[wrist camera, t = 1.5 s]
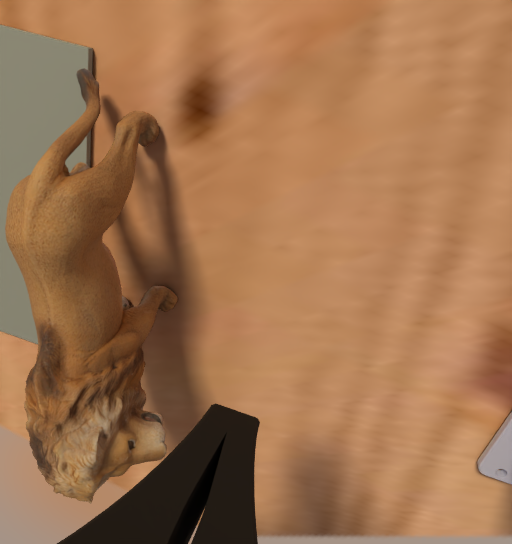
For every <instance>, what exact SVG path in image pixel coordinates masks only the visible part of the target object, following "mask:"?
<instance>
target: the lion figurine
mask: <svg viewBox="0 0 512 544" xmlns="http://www.w3.org/2000/svg"><path fill="white" fill-rule="evenodd" d="M76 75H77V79H78V82H79V85H80V88H81V95H82V98H83V99H84V101H85V103H86V110H85V112H84V113H83V115H82V116H81V117H80V118H79V119H78V120H77V121H76V122H75V123H74V124H73V125H71V126H70V127H69V128H68V129H67V130H66V131H65V132H64V133H63V134H62V135H61V136H59V137H58V138H57V139H56V140H55V141H54V142H53V143H52V145H51V146H50V147H49V149H48V150H47V151H46V153H45V154H44V155H43V156H42V157H41V159H40V160H39V161H38V163H37V164H36V166H35V167H34V169H33V171H32V173H31V175H28V176H27V177H25V178H24V179H22V180H21V181H20V182H19V183H18V184H17V185H16V186H15V188H14V189H13V191H12V193H11V196H10V199H9V203H8V207H7V217H6V225H5V233H6V240H7V243H8V246H9V248H10V250H11V252H12V254H13V256H14V258H15V260H16V262H17V264H18V266H19V268H20V270H21V273H22V275H23V278H24V281H25V284H26V287H27V291H28V294H29V299H30V304H31V309H32V315H33V318H34V322H35V326H36V331H37V337H38V355H37V361H36V364H35V366H34V367H33V368H32V369H31V371H30V373H29V375H28V378H27V381H26V384H27V385H26V389H25V392H26V401H25V403H24V408H25V410H26V413H27V417H28V421H27V422H26V429H27V430H28V432H29V436H30V446H31V448H32V450H33V451H32V453H33V456H34V457H35V459H36V460H37V464H38V469H39V470H40V471H41V473H42V475H43V476H44V477H45V480H46V482H47V483H48V484H50V485H52V486H54V492H55V493H61V494H63V495H64V496H66V497H71V498H76V499H77V500H79V501H88V502H89V503H92V500H93V496H94V493H95V492H96V490H97V489H98V488H99V487H100V486H101V485H102V484H104V483H105V482H106V480H108V479H109V477H115V476H121V475H123V474H124V473H125V472H126V471H127V470H128V469H129V467H130V466H132V465H134V464H139V463H144V462H148V461H157V460H160V459H162V458H163V457H164V456H165V454H166V450H167V447H166V445H165V443H164V442H165V430H164V428H163V417H162V416H161V415H160V414H159V413H155V412H147V411H143V406H144V404H145V401H146V393H145V391H144V390H143V389H142V388H141V383H140V380H141V377H142V375H143V371H144V367H145V362H144V359H143V351H142V348H141V346H142V344H143V342H144V341H145V339H146V338H147V336H148V334H149V332H150V330H151V328H152V326H153V324H154V321H155V317H156V313H157V310H158V309H161V310H162V311H164V312H167V311H168V310H169V309H172V308H174V306H175V303H176V302H177V300H178V298H177V296H176V295H175V294H174V293H173V292H172V291H171V290H170V289H168V288H167V287H164V286H153V287H151V288H150V289H149V290H148V291H147V292H146V294H145V295H144V297H143V299H142V301H141V303H140V304H139V305H138V306H137V307H131V308H129V303H128V300H127V299H126V298H125V297H124V296H122V291H121V284H120V279H119V275H118V271H117V267H116V264H115V260H114V258H113V256H112V254H111V252H110V250H109V249H108V247H107V246H106V245H105V244H104V243H103V242H102V236H103V233H104V232H105V231H106V230H107V229H108V228H109V227H110V226H111V225H112V224H113V222H114V221H115V220H116V218H117V217H118V216H119V214H120V212H121V210H122V208H123V206H124V204H125V201H126V199H127V197H128V194H129V192H130V190H131V187H132V183H133V178H134V173H135V163H136V154H137V147H138V143H139V144H141V145H142V146H144V147H146V146H148V145H149V144H150V143H153V142H154V141H155V140H156V138H157V136H158V135H159V126H158V123H157V121H156V119H155V118H154V117H153V116H152V115H150V114H149V113H146V112H140V111H134V112H130V113H128V114H127V115H126V116H125V117H124V118H123V119H122V120H121V121H120V122H119V123H118V124H117V126H116V135H115V139H114V142H113V144H112V147H111V149H110V150H109V152H108V154H107V155H106V157H105V158H104V159H103V160H102V162H101V163H99V164H98V165H96V166H95V167H92V168H89V166H88V165H87V164H85V163H83V162H79V163H77V164H76V165H75V166H74V167H73V169H72V170H71V172H70V173H69V170H68V168H67V166H66V165H65V161H66V159H67V158H68V157H69V156H70V155H71V154H72V153H73V152H74V150H75V149H76V148H77V147H78V146H79V145H80V144H81V143H82V142H83V140H84V139H85V137H86V136H87V135H88V133H89V132H90V130H91V129H92V127H93V125H94V124H95V122H96V120H97V118H98V116H99V114H100V98H99V83H98V82H97V81H96V80H95V79H94V77H93V75H92V73H91V72H90V71H89V70H87V69H85V68H83V69H79V70H78V71H77V73H76Z"/></svg>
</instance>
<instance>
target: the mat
mask: <svg viewBox="0 0 512 544" xmlns="http://www.w3.org/2000/svg"><path fill="white" fill-rule="evenodd" d="M92 62H93V48H89V47H86V46H82V45H78V44H74V43H70V42H66V41H62V40H58V39H54V38H51V37H47V36H43V35H39V34H35V33H31V32H27V31H23V30H19V29H16V28H12V27H8V26H4V25H0V331H2V332H5V333H8V334H10V335H13V336H16V337H19V338H22V339H25V340H27V341H30V342H33V343H36V344H38V337H37V331H36V326H35V322H34V318H33V315H32V309H31V304H30V299H29V294H28V291H27V287H26V284H25V281H24V278H23V275H22V273H21V270H20V268H19V266H18V264H17V262H16V260H15V258H14V256H13V254H12V252H11V250H10V248H9V246H8V243H7V240H6V233H5V225H6V217H7V207H8V203H9V199H10V196H11V193H12V191H13V189H14V188H15V186H16V185H17V184H18V183H19V182H20V181H21V180H22V179H24V178H25V177H27V176H28V175H31V173H32V171H33V169H34V167H35V166H36V164H37V163H38V161H39V160H40V159H41V157H42V156H43V155H44V154H45V153H46V151H47V150H48V149H49V147H50V146H51V145H52V143H53V142H54V141H55V140H56V139H57V138H58V137H59V136H61V135H62V134H63V133H64V132H65V131H66V130H67V129H68V128H69V127H70V126H71V125H73V124H74V123H75V122H76V121H77V120H78V119H79V118H80V117H81V116H82V115H83V113H84V112H85V110H86V103H85V101H84V99H83V98H82V95H81V88H80V85H79V82H78V79H77V75H76V73H77V71H78V70H79V69H83V68H85V69H87V70H89V71H90V72H91V73H92ZM90 151H91V130H90V132H89V133H88V135H87V136H86V137H85V139H84V140H83V142H82V143H81V144H80V145H79V146H78V147H77V148H76V149H75V150H74V152H73V153H72V154H71V155H70V156H69V157H68V158H67V159H66V161H65V165H66V166H67V168H68V170H69V173H70V172H71V170H72V169H73V167H74V166H75V165H76V164H77V163H79V162H83V163H85V164H87V165H88V166H89V168H90Z"/></svg>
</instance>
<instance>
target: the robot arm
mask: <svg viewBox="0 0 512 544" xmlns="http://www.w3.org/2000/svg"><path fill="white" fill-rule="evenodd" d="M259 424H260V422H259V420H258V419H257V418H256V417H253V416H250V415H247V414H244V413H241V412H238V411H236V410H233V409H230V408H227V407H224V406H221V405H218V404H213V405H211V407H210V408H209V410H208V411H207V412H206V414H205V415H204V416H203V418H202V419H201V420H200V421H199V423H198V424H197V425H196V426H195V427H194V429H193V430H192V431H191V432H190V433H189V434H188V435H187V436H186V438H185V439H184V440H183V441H182V442H181V443H180V444H179V445H178V446H177V447H176V448H175V449H174V450H173V451H172V452H171V453H170V454H169V455H168V456H167V457H166V458H165V459H164V460H163V461H162V462H161V463H160V464H159V465H158V466H157V467H156V468H154V469H153V470H152V471H151V472H150V473H149V474H148V475H147V476H146V477H145V478H144V479H143V480H141V481H140V482H139V483H138V484H137V485H136V486H134V487H133V488H132V489H131V490H130V491H129V492H127V493H126V494H125V495H124V496H122V497H121V498H120V499H119V500H118V501H116V502H115V503H114V504H112V505H111V506H110V507H109V508H107V509H106V510H105V511H103V512H102V513H101V514H99V515H98V516H96V517H95V518H94V519H92V520H91V521H90V522H88V523H87V524H86V525H84V526H83V527H82V528H80V529H78V530H77V531H76V532H74V533H73V534H71V535H70V536H68V537H67V538H65V539H64V540H62V541H60V542H59V543H57V544H188V542H189V540H190V538H191V536H192V534H193V532H194V530H195V528H196V525H197V523H198V521H199V519H200V517H201V515H202V513H203V510H204V508H205V510H204V513H203V516H202V518H201V521H200V523H199V526H198V528H197V531H196V533H195V536H194V538H193V541H192V543H191V544H258V542H257V531H256V518H255V500H254V461H255V447H256V438H257V432H258V427H259ZM477 464H478V468H479V471H480V472H481V473H482V474H484V475H486V476H489V477H492V478H495V479H497V480H500V481H503V482H506V483H509V484H512V412H511V413H510V414H509V416H508V417H507V419H506V420H505V422H504V423H503V425H502V426H501V427H500V429H499V430H498V432H497V433H496V435H495V436H494V438H493V439H492V440H491V442H490V443H489V445H488V446H487V448H486V449H485V451H484V452H483V453H482V455H481V456H480V458H479V459H478V461H477ZM498 469H503V470H498ZM205 506H206V507H205Z"/></svg>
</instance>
